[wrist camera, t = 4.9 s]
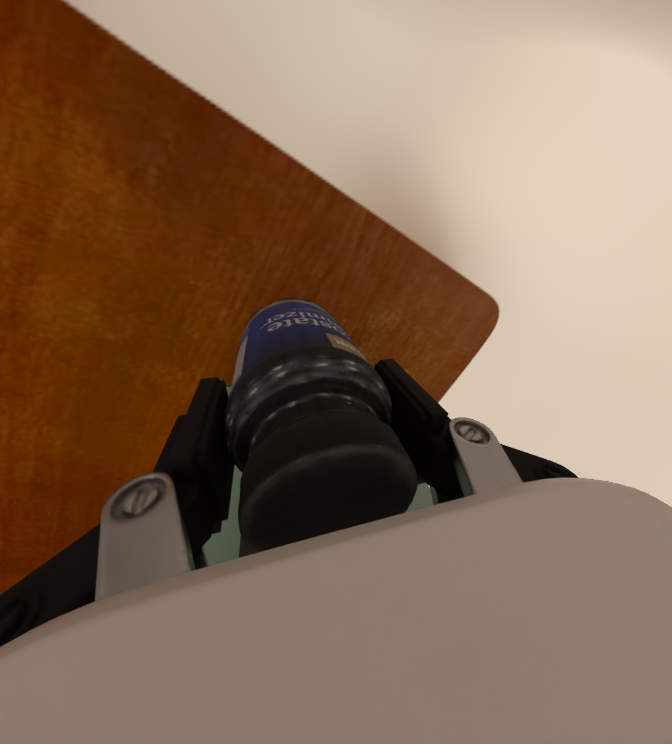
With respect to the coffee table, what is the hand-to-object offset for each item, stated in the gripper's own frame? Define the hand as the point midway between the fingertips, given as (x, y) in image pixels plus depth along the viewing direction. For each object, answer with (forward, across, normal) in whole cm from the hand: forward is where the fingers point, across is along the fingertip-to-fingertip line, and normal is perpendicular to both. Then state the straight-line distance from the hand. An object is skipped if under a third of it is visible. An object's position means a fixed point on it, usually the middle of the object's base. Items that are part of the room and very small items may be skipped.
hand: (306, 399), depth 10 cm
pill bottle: (+6, 0, 0) cm, 6 cm away
